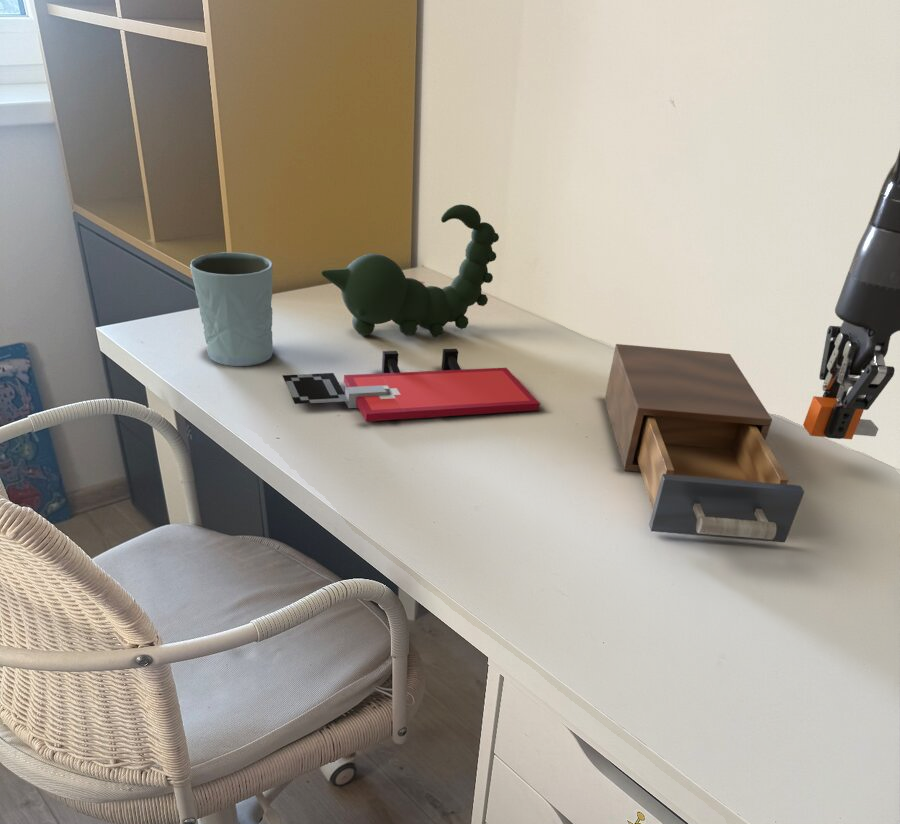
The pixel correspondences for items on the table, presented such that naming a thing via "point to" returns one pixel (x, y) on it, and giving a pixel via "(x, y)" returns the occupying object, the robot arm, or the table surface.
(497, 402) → the red board with handle
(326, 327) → the table surface
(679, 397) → the cabinet
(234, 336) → the pale green cup
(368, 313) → the toy figurine
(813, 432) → the orange and grey block
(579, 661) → the table surface
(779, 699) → the table surface
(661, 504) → the drawer
